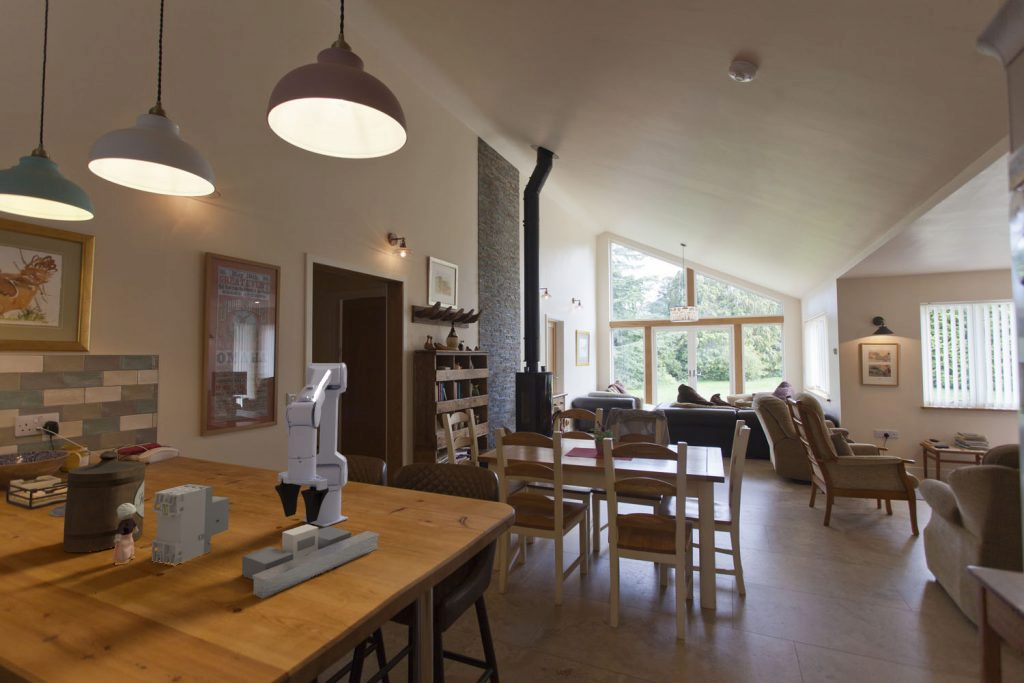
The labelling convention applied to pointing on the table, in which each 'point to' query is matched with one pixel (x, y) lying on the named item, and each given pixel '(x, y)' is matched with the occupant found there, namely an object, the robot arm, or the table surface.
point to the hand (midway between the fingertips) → (301, 518)
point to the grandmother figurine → (125, 534)
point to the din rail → (313, 564)
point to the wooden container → (101, 502)
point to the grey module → (300, 540)
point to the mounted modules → (275, 556)
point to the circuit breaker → (187, 522)
